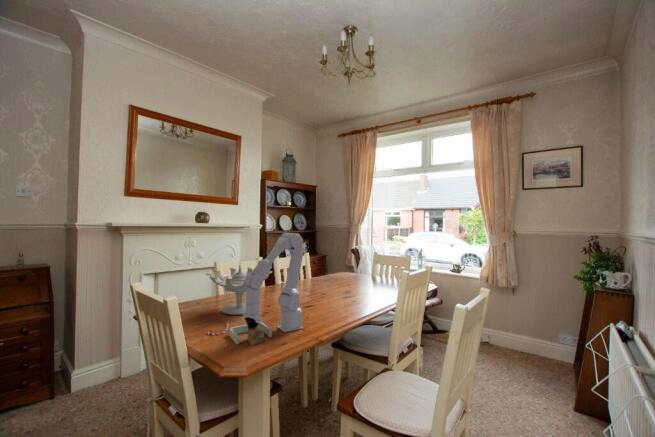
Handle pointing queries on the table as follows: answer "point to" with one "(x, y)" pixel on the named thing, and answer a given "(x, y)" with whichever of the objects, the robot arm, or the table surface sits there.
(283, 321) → the robot arm
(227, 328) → the candy cane
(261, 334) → the tan cube
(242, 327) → the sage corner frame
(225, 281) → the candelabra
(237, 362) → the table surface
